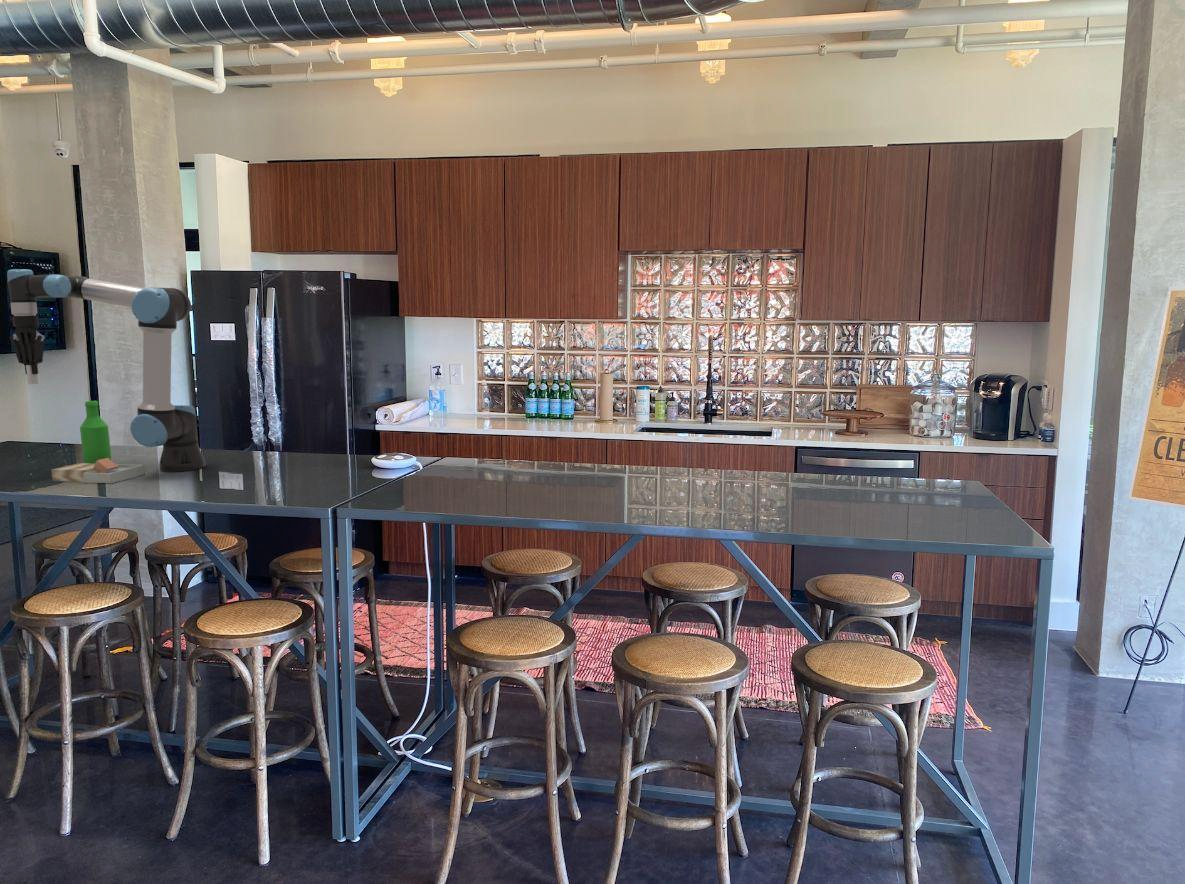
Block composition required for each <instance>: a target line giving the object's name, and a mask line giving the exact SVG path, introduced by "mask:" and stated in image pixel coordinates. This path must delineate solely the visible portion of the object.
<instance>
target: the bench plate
mask: <svg viewBox="0 0 1185 884" xmlns="http://www.w3.org/2000/svg"><path fill="white" fill-rule="evenodd" d="M94 465H95V464H94V463H84V462H81V463H80V462H78V463H74V464H70V465H69V464H68V465H65V466H61V467H57V468H52V469H51V477H52V482H71V483H72V482H73V483H74V482H78V483H84V477H83V473H85V472H89V471H93V470H96V469H95V468H93V467H94Z"/></svg>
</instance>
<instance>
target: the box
mask: <svg viewBox="0 0 1185 884" xmlns="http://www.w3.org/2000/svg"><path fill="white" fill-rule="evenodd" d="M116 464H117V465H118V466H119V467H118V468H128V469H124V470H121V471H117V472H113V473H100V472H99V471H97V470H93V471H89V472H85V473H83V477H84V482H83V484H93V483H106V484H105V485H112V483H113V484H116V482H117V483H120V482H124V481H127V480H131V479H134V478H133V477H135V478H138V477H141V476H140V475H142V476H145V474H146V473H145V472H146V471H145V464H125V463H123V464H122V463H121V464H120V463H116ZM137 476H138V477H137ZM130 478H131V479H130ZM126 479H127V480H126ZM123 480H124V481H123ZM119 481H120V482H119ZM107 483H109V484H107Z"/></svg>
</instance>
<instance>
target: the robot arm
mask: <svg viewBox="0 0 1185 884" xmlns="http://www.w3.org/2000/svg"><path fill="white" fill-rule="evenodd" d="M7 287H8V293H9V299H10V301H9V302H10V311H11V315H13V316H12V317H11V319H12V325H13V327H14V329H15V330H14V333H13V335H9V341H11V343H12V346H13V349H14V352H15V355H16V358H17V361H18V363H19V364H23V365H24V371H25V373H24V374H26V377H27V384H28V385H36V384H39V378H38V374H39V367H38V365H39V364H40V363H43V359H44V349H45V341H46V338H47V336H46V334H45V335H42V333H40V330H39V328H38V327H39V325H40V322H39V320H40V319H39V316H38V315H37V314H38V307H37V306H38V305H37V298H54V299H55V298H56V299H57V298H72V299H74V298H76V299H81V300H87V301H94V302H99V303H105V304H110V305H117V306H121V307H127V308H130V309H131V312H132V314H133V315H134V316H135V319H137V321H138V323H137V324H138V325H137V326H138V328H139V329H140V330H141V331H142V337H143V338H142V341H143V342H142V401H141V403H139V405H137V412H136V413H137V415H136V416H135V417H134V418H133V419H132V420H131V422H130V425H129V427H130V433H131V436H132V438H133V439H134V440H135V441H136V442H137V443H138V444H139V445H141V446H142V447H146V448H158V447H161V446H162V450H161V455H160V459H159V463H158V464H159V465H158V467H159V471H160V472H170V473H171V472H186V471H193V470H198V469H203V468H205V467H206V460H205V458H204V455H203V453H202V450H201V449H200V446H199V439H198V438H199V437H198V427H197V426H198V423H197V414H196V409H195V407H194V406H193V405H185V404H184V405H182V404H181V405H178V404H175V405H173V404H172V401H171V400H172V399H171V398H172V397H171V395H172V394H171V392H172V391H171V390H172V381H171V380H172V334H173V333H174V332H175V331H176V330H177V326H178V325H177V324H178V322H180V321H183V320H184V319H185V318H187V317H188V316H189V314H190V313H191V308H192V301H191V299H190V297H189V296H188V295H187V293H185V292H184V291H182V290H181V289H179V288H175V287H157V286H155V287H153V286H150V287H142V286H141V287H140V286H135V285H129V284H123V283H118V282H112V281H107V280H106V281H105V280H99V279H93V278H87V277H86V276H82V275H74V276H73V275H62V274H57V273H55V274H37V275H35V274H34V271H33V270H32V269H24V268H23V269H21V268H19V269H17V268H16V269H15V268H14V269H9V270H7Z"/></svg>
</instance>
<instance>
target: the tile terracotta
mask: <svg viewBox="0 0 1185 884" xmlns="http://www.w3.org/2000/svg"><path fill="white" fill-rule="evenodd" d="M117 464H118V463H116V462H115V461H113V460H112V461H111V460H110V459H109V458H105V459H100V460H97V461H96V463H95V465H94V467H93V468H95V469H96V470H97V471H99V472H100V473H108V470H110V469H114V468H118V467H119V466H118V465H117Z"/></svg>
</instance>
